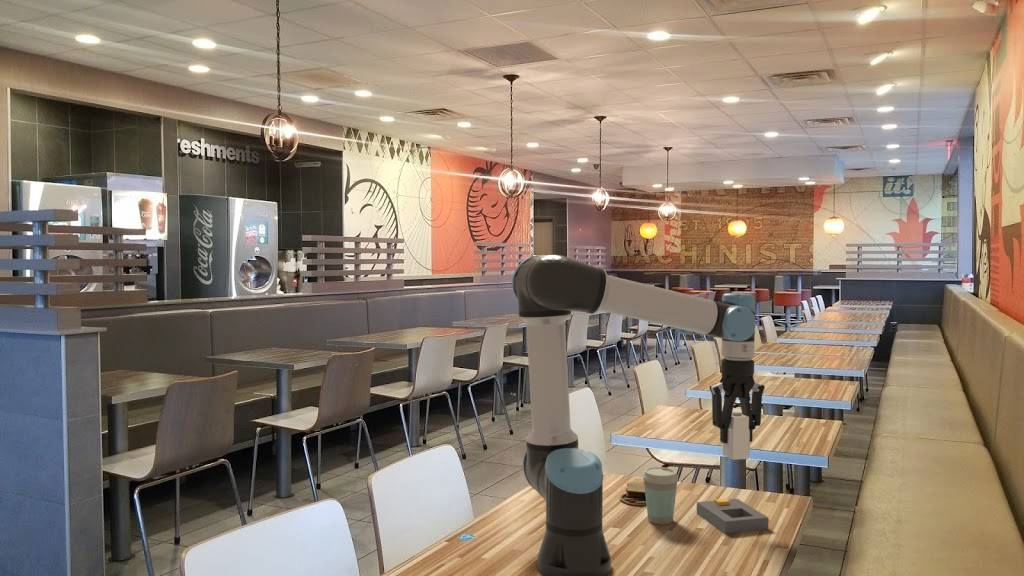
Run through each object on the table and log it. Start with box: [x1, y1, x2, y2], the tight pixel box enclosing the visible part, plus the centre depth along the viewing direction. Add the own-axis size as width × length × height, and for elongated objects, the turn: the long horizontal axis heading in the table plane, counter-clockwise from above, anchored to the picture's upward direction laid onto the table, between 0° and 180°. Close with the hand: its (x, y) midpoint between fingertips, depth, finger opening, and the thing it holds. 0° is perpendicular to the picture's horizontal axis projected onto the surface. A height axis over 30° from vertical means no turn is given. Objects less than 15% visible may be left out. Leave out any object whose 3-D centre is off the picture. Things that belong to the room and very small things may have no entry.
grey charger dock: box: [696, 498, 769, 535], centre depth 177 cm, size 11×14×4 cm
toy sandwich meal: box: [619, 481, 647, 507], centre depth 194 cm, size 9×10×4 cm
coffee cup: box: [642, 466, 680, 525], centre depth 179 cm, size 8×9×12 cm
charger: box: [729, 411, 749, 461], centre depth 177 cm, size 4×4×11 cm
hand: (735, 455), depth 177 cm, fingers closed on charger, 4 cm apart
